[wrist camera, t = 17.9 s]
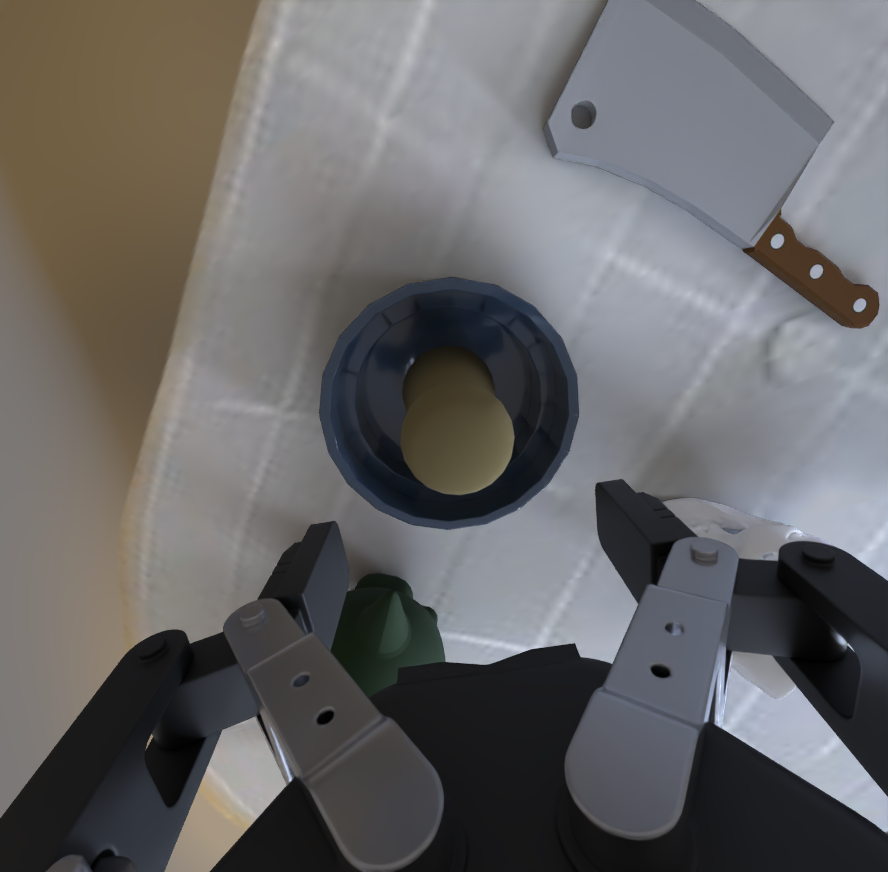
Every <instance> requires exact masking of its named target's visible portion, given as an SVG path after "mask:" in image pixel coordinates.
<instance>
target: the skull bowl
mask: <svg viewBox="0 0 888 872" xmlns="http://www.w3.org/2000/svg"><path fill="white" fill-rule="evenodd" d="M662 503H663V504H664V505H665V506H666V507H667V508H668V510H669V509H670V510H671V511H672V512H673V513H674V514H675V516H676V517H678V518H679V519H680V520H681V521H682V522H683V523H684V524H685V525H686V526H687V527H688V528H690V529H691V530H692V531H693V532H694V533H695V534H696V535H697V536H698V537H705V538H711V539H715V540H718V541H721V542H724V543H726V544H728V545H729V546H731V547H732V548H733V549H734V550H735V551H736V552H737V553H738V556H739V558H742V559H754V560H774V561H778V554H779V549H780V547H781V546H782V545H784V544H786V543H789V542H794V541H812V542H819V543H823V544H828V545H831V544H829V543H828V542H826V541H825V540H823V539H821V538H819V537H816V536H813V535H809V534H805V533H802V532H800V531H799V530H798V529H796V528H794V527H793V526H789V525H785V524H783V523H779V522H773V521H768V520H765V519H762V518H758V517H755V516H751V515H748V514H746V513H743V512H741V511H738V510H736V509H733V508H731V507H728V506H726V505H723V504H720V503H714V502H710V501H706V500H702V499H697V498H681V499H673V500H668V501H664V502H662ZM723 529H735V530H741V532H739V533H736V534H730V533H728V532H726V531H724V530H723ZM831 546H833V545H831ZM834 547H835V546H834ZM874 572H875V571H874ZM731 667H733V668H734V669H735V670H736V671H737V672H738V673H739V674H740V675H741V676H742V677H743V678H744V679H746V680H747V681H749V682H751V683H752V684H754V685H755V686H757V687H758V688H760V689H761V690H763V691H764V692H765V693H767V694H768V695H769V696H771V697H773V698H774V699H776V700H779V699H782V698H783V697H785V696H786V695H788V694H789V693H790V692H792V691H793V690H794V689H795V688H797V686H796V685H795V684H794V682H793V681H792V680H791V679H790V677H789V676H788V675H787V674H786V673H785V671H784V670H783V669H782V668H781V667H780V665H779V664H778V663H777V662H776V660H775V659H774V658H773V656H772V655H763V654H754V653H745V652H737V651H733V658H732V664H731Z"/></svg>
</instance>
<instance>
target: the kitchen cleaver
mask: <svg viewBox="0 0 888 872" xmlns="http://www.w3.org/2000/svg"><path fill="white" fill-rule="evenodd" d="M576 106H583V107H585V108H587V110H588V111H589V112H590V115H591V124H590V127H589V128H587V129H579V128H577V127H576V126H575V125H574V124H573V122H572V120H571V111H572V108H574V107H576ZM833 123H834V121H833V120H832V119H831V118H830V117H829V116H828V115H827V114H826V113H825V112H824V111H823V110H821V109H820V108H819V107H818V106H817V105H816V104H815V103H814V102H813V101H812V100H811V99H810V98H809V97H808V96H807V95H806V94H804V93H803V92H802V91H801V90H800V89H799V88H798V87H797V86H796V85H795V84H794V83H793V82H792V81H791V80H790V79H789V78H787V77H786V76H785V75H784V74H783V73H782V72H781V71H780V70H779V69H778V68H777V67H776V66H774V65H773V64H772V63H771V62H770V61H769V60H768V59H767V58H766V57H765V56H764V55H762V54H761V53H760V52H759V51H758V50H757V49H756V48H755V47H754V46H753V45H752V44H750V43H749V42H748V41H747V40H746V39H745V38H744V37H743V36H742V35H741V34H740V33H738V32H737V31H736V30H735V29H734V28H732V27H731V26H730V25H728V24H727V23H726V22H724V21H723V20H721V19H720V18H719V17H717V16H716V15H715V14H713V13H712V12H711V11H709V10H708V9H706V8H705V7H704V6H702V5H701V4H700V3H698V2H697V1H695V0H608V2H607V4H606V6H605V8H604V10H603V12H602V14H601V16H600V18H599V20H598V22H597V23H596V25H595V27H594V29H593V31H592V33H591V35H590V37H589V39H588V41H587V43H586V45H585V47H584V49H583V51H582V53H581V55H580V57H579V59H578V61H577V63H576V65H575V67H574V69H573V71H572V73H571V75H570V77H569V79H568V81H567V83H566V85H565V87H564V89H563V91H562V93H561V95H560V97H559V99H558V100H557V102H556V104H555V106H554V108H553V110H552V112H551V114H550V116H549V118H548V120H547V122H546V124H545V126H544V128H543V131H544V134H545V137H546V140H547V142H548V145H549V148H550V151H551V154H552V157H553V158H556V159H561V160H566V161H572V162H577V163H582V164H588V165H593V166H596V167H599V168H601V169H603V170H606V171H608V172H611V173H613V174H616V175H618V176H621V177H623V178H626V179H628V180H631V181H633V182H636V183H638V184H641V185H643V186H645V187H646V188H648V189H650V190H652V191H654V192H655V193H657V194H659V195H661V196H662V197H664V198H666V199H668V200H669V201H671V202H673V203H675V204H676V205H678V206H680V207H682V208H683V209H685V210H686V211H688V212H689V213H691V214H692V215H693V216H695V217H696V218H698V219H699V220H701V221H702V222H703V223H705V224H706V225H708V226H709V227H711V228H712V229H713V230H715V231H716V232H718V233H719V234H721V235H722V236H723V237H725V238H726V239H728V240H729V241H731V242H732V243H733V244H735V245H736V246H738V247H740V248H742V250H743V252H745V253H746V254H748V255H749V256H750V257H752V258H753V259H754V260H756V261H757V262H758V263H760V264H761V265H762V266H764V267H765V268H766V269H767V270H769V271H770V272H771V273H773V274H774V275H775V276H777V277H778V278H779V279H781V280H782V281H783V282H785V283H786V284H787V285H789V286H790V287H791V288H793V289H794V290H795V291H796V292H798V293H799V294H800V295H802V296H803V297H804V298H806V299H807V300H808V301H810V302H811V303H812V304H814V305H815V306H816V307H818V308H819V309H820V310H822V311H823V312H824V313H826V314H827V315H828V316H829V317H831V318H832V319H833V320H835V321H836V322H837V323H839V324H840V325H841V326H845V327H849V328H864V327H866V326H869V325H870V323H871V322H872V321H873V320H874V318H875V317H876V316H877V315H878V310H879V296H878V292H876V291H875V290H874V289H873V288H871V287H870V286H869V285H860V284H853V283H851V282H850V281H849V280H848V279H846V278H845V277H844V276H843V275H842V273H841V271H840V269H839V268H838V267H837V266H836V265H835V264H833V263H832V262H831V261H830V260H828V259H827V258H826V257H825V256H823V255H822V254H821V253H820V252H818V251H817V250H814V249H811V248H809V247H806V246H804V245H803V244H802V243H800V242H799V241H798V240H797V238H796V236H795V234H794V232H793V229H792V227H791V226H790V225H789V224H788V223H787V222H785V221H784V220H783V219H781V218H780V216H781V208H782V206H783V205H784V203H785V201H786V199H787V198H788V196H789V194H790V193H791V191H792V189H793V188H794V186H795V184H796V183H797V181H798V179H799V178H800V176H801V174H802V173H803V171H804V169H805V167H806V166H807V164H808V162H809V161H810V159H811V157H812V156H813V154H814V152H815V151H816V149H817V147H818V146H819V144H820V142H821V141H822V139H823V138H824V136H825V135H826V133H827V132H828V131H829V129H830V128H831V126H832V125H833Z"/></svg>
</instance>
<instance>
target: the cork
mask: <svg viewBox="0 0 888 872" xmlns="http://www.w3.org/2000/svg"><path fill="white" fill-rule="evenodd" d="M402 396H403V400H404V404H405V408H406V411H407V414H406V416H405V418H404V421H403V423H402V428H401V440H400V445H401V449H402V453H403V457H404V460H405V462H406V464H407V465H408V467H409V468H410V470H411V471H412V473H413V474H414V476H415V477H416V478H417V479H418V480H419V481H421V482H422V483H423V484H424V485H426V486H427V487H428V488H431V489H433V490H436V491H438V492H441V493H443V494H454V495H463V494H468V493H473V492H477V491H479V490H481V489H483V488H485V487H487V486H489V485H490V484H492V483H493V482H494V481H495V480H496V479H497V478H498V477H499V476H500V475H501V474H502V473H503V472H504V470H505V468H506V466H507V464H508V463H509V461H510V459H511V456H512V450H513V444H514V438H515V437H514V431H513V425H512V420H511V418H510V416H509V415H508V413H507V411H506V409H505V407H504V405H503V404H502V403H501V401H499V400H498V399H497V398H496V397H495V387H494V382H493V376H492V374H491V372H490V370H489V369H488V367H487V365H486V363H485V362H484V361H483V360H481V359H480V358H479V357H478V356H477V355H476V354H475V353H473V352H471V351H469V350H466V349H464V348H462V347H454V346H443V347H438V348H434V349H431V350H429V351H427V352H426V353H424V354H422V355H421V356H419V357H418V358H417V359H416V360H415V361H414V363H413V364H412V365H411V366H410V367H409V369H408V371H407V374H406V376H405V378H404V381H403V392H402Z"/></svg>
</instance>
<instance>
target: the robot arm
mask: <svg viewBox="0 0 888 872" xmlns="http://www.w3.org/2000/svg"><path fill="white" fill-rule="evenodd" d="M595 495H596V515H597V531H598V536H599V540H600V543H601V546H602V548H603V550H604V551H605V553H606V555H607V556H608V558H609V559H610V561H611V562H612V564H613V565H614V567H615V569H616V570H617V572H618V573H619V575H620V576H621V578H622V579H623V581H624V583H625V584H626V586H627V587H628V589H629V590H630V592H631V593H632V595H633V596H634V598H635V600H636V601H637V603H638V606H637V608H636V611H635V613H634V615H633V618H632V620H631V622H630V625H629V627H628V629H627V632H626V634H625V636H624V638H623V641H622V643H621V645H620V648H619V650H618V652H617V655H616V657H615V659H614V662H613V664H611V663H608V662H604V661H600V660H596V659H590V658H582V657H580V655H579V653H578V650H577V648H576V645H575V643H573V644H566V645H559V646H552V647H545V648H538V649H531V650H528V651H525V652H523V653H520V654H517V655H514V656H512V657H509V658H506V659H503V660H501V661H498V662H495V663H492V664H489V665H477V664H464V663H450V662H437V663H430V664H423V665H416V666H408V667H401V668H398V678H397V683H395V684H393V685H390V686H388V687H386V688H384V689H382V690H380V691H379V692H377V693H375V694H374V695H372V696H371V697H369V698H368V697H367V696H366V694H365V693H364V692H363V691H362V690H361V688H360V687H359V686H358V685H357V683H356V682H355V681H354V680H353V679H352V677H351V676H350V675H349V674H348V672H347V671H346V670H345V669H344V668H343V666H342V665H341V664H340V663H339V661H338V660H337V659H336V658H335V656H334V655H333V654H332V653H331V652H330V650H331V647H332V643H333V640H334V636H335V632H336V629H337V625H338V622H339V618H340V615H341V611H342V607H343V604H344V600H345V597H346V593H347V589H348V586H349V566H348V562H347V558H346V554H345V550H344V546H343V542H342V538H341V534H340V530H339V527H338V524H337V523H336V522H335V521H331V522H325V523H318V524H311V525H310V526H309V528H308V530H307V532H306V534H305V536H304V538H303V540H302V542H297V543H294V544H293V545H292V546H291V547H290V548H288V549H287V550H286V551H285V552H284V553H283V554H282V556H281V558H280V560H279V562H278V563H277V566H276V567H275V569H274V571H273V572H272V575H271V576H270V578H269V579H268V581H267V583H266V585H265V587H264V588H263V590H262V592H261V594H260V596H259V597H258V599H257V600H256V601H253V602H250V603H248V604H246V605H244V606H242V607H241V608H239V609H238V610H236V611H235V612H234V613H232V614H231V615H230V616H229V618H228V619H227V620H226V622H225V624H224V626H223V632H221V633H219V634H216V635H213V636H210V637H208V638H205V639H202V640H199V641H196V642H194V643H191V644H190V643H189V640H188V638H187V635H186V633H185V632H184V631H182V630H167V631H163V632H160V633H157V634H154V635H152V636H150V637H148V638H146V639H144V640H143V641H141V642H140V643H138V644H137V645H135V646H134V647H133V648H132V649H130V650H129V651H128V652H127V653H126V654H125V656H124V657H123V658H122V659H121V661H120V662H119V663H118V665H117V666H116V667H115V669H114V670H113V671H112V673H111V674H110V675H109V676H108V678H107V679H106V680H105V682H104V683H103V684H102V686H101V687H100V688H99V690H98V691H97V692H96V694H95V695H94V696H93V698H92V699H91V700H90V702H89V703H88V704H87V705H86V707H85V708H84V709H83V711H82V712H81V713H80V715H79V716H78V717H77V719H76V720H75V721H74V722H73V724H72V725H71V726H70V728H69V729H68V730H67V732H66V733H65V734H64V736H63V737H62V738H61V739H60V741H59V742H58V744H57V745H56V746H55V747H54V749H53V750H52V751H51V753H50V754H49V756H48V757H47V758H46V759H45V761H44V762H43V763H42V764H41V766H40V767H39V768H38V770H37V771H36V772H35V774H34V775H33V776H32V778H31V779H30V780H29V781H28V783H27V784H26V785H25V787H24V788H23V789H22V791H21V792H20V794H19V795H18V796H17V797H16V799H15V800H14V801H13V803H12V804H11V805H10V806H9V808H8V809H7V810H6V812H5V813H4V814H3V816H2V817H1V818H0V872H164V871H165V868H166V866H167V864H168V861H169V859H170V856H171V854H172V851H173V849H174V847H175V844H176V842H177V839H178V837H179V834H180V832H181V830H182V827H183V825H184V822H185V820H186V817H187V815H188V813H189V810H190V807H191V805H192V803H193V800H194V798H195V795H196V793H197V791H198V788H199V786H200V783H201V781H202V778H203V776H204V774H205V771H206V769H207V766H208V764H209V761H210V759H211V757H212V754H213V752H214V749H215V747H216V744H217V742H218V740H219V737H220V735H221V732H222V730H223V729H226V728H228V727H231V726H233V725H235V724H238V723H240V722H243V721H245V720H247V719H250V718H252V717H256V720H257V722H258V724H259V726H260V728H261V731H262V733H263V735H264V737H265V739H266V741H267V743H268V745H269V747H270V750H271V752H272V754H273V756H274V758H275V760H276V762H277V764H278V767H279V769H280V771H281V773H282V775H283V778H284V780H285V782H286V785H287V786H286V787H285V788H284V789H283V790H282V791H281V793H280V794H279V795H278V796H277V797H276V798H275V799H274V800H273V801H272V803H271V804H270V805H269V806H268V807H267V808H266V809H265V810H264V812H263V813H262V814H261V815H260V816H259V817H258V818H257V819H256V820H255V822H254V823H253V824H252V825H251V826H250V827H249V828H248V829H247V831H246V832H245V833H244V834H243V835H242V836H241V837H240V838H239V839H238V841H237V842H236V843H235V844H234V845H233V846H232V847H231V849H230V850H229V851H228V852H227V853H226V854H225V855H224V856H223V857H222V858H221V860H220V861H219V862H218V863H217V864H216V866H214V867H213V869H212V870H211V871H210V872H888V835H887V834H886V833H885V832H883V831H882V830H881V829H880V828H878V827H877V826H876V825H875V824H873V823H872V822H870V821H869V820H867V819H866V818H864V817H863V816H861V815H860V814H858V813H857V812H856V811H854V810H852V809H851V808H849V807H847V806H846V805H844V804H843V803H841V802H839V801H838V800H836V799H835V798H833V797H831V796H830V795H828V794H826V793H825V792H823V791H822V790H820V789H818V788H817V787H815V786H814V785H812V784H810V783H809V782H807V781H806V780H804V779H802V778H801V777H799V776H797V775H796V774H794V773H793V772H791V771H789V770H788V769H786V768H785V767H783V766H781V765H780V764H778V763H776V762H775V761H773V760H772V759H770V758H768V757H767V756H765V755H764V754H762V753H760V752H759V751H757V750H756V749H754V748H752V747H751V746H749V745H747V744H746V743H744V742H743V741H741V740H739V739H738V738H736V737H735V736H733V735H731V734H730V733H728V732H726V731H725V730H723V729H722V722H723V714H724V708H725V701H726V695H727V689H728V683H729V677H730V670H731V664H732V658H733V651H737V652H745V653H754V654H763V655H772V656H773V658H774V659H775V660H776V662H777V663H778V664H779V665H780V667H781V668H782V669H783V670H784V671H785V673H786V674H787V675H788V676H789V677H790V679H791V680H792V681H793V682H794V684H795V685H796V686H797V687H798V688H799V690H800V691H801V692H802V693H803V694H804V696H805V697H806V698H807V699H808V701H809V702H810V703H811V704H812V705H813V707H814V708H815V709H816V710H817V711H818V713H819V714H820V715H821V716H822V718H823V719H824V720H825V721H826V722H827V724H828V725H829V726H830V727H831V728H832V730H833V731H834V732H835V733H836V735H837V736H838V737H839V738H840V739H841V741H842V742H843V743H844V744H845V745H846V747H847V748H848V749H849V750H850V752H851V753H852V754H853V755H854V756H855V758H856V759H857V760H858V761H859V762H860V764H861V765H862V766H863V767H864V769H865V770H866V771H867V772H868V773H869V775H870V776H871V777H872V778H873V779H874V781H875V782H876V783H877V784H878V785H879V787H880V788H881V789H882V790H883V792H884V793H885V794H886V795H887V796H888V581H887V580H886V579H884V578H883V577H882V576H880V575H879V574H877V573H876V572H874V571H873V570H872V569H870V568H869V567H867V566H866V565H865V564H863V563H862V562H860V561H859V560H858V559H856V558H855V557H853V556H852V555H850V554H849V553H847V552H845V551H843V550H841V549H839V548H837V547H834V546H831V545H828V544H823V543H819V542H812V541H794V542H789V543H786V544H784V545H782V546H781V547H780V549H779V554H778V561H774V560H754V559H742V558H739V556H738V553H737V552H736V551H735V550H734V549H733V548H732V547H731V546H729V545H728V544H726V543H724V542H721V541H718V540H715V539H711V538H705V537H698V536H697V535H696V534H695V533H694V532H693V531H692V530H691V529H690V528H688V527H687V526H686V525H685V524H684V523H683V522H682V521H681V520H680V519H679V518H678V517H676V516H675V514H674V513H673V512H672V511H671V510H670V509H669V510H668V508H667V507H666V506H665V505H664V504H663V503H662V502H661V501H660V500H659V499H658V498H655V497H653V496H651V495H649V494H646V493H644V492H640V493H636V492H635V491H634V490H633V489H632V488H631V487H630V486H629V485H628V484H627V483H626V482H625V481H624V480H623V479H619V480H612V481H605V482H598V483H597V484H596V487H595ZM848 643H849V644H850V646H851V647H852V648H853V650H854V651H855V652H854V651H853V650H852V649H851V648H850V647H849V646H847V644H848ZM151 734H152V735H153V738H152V740H151V742H150V744H149V745H148V747H147V749H146V746H147V742H148V740H149V738H150V736H151ZM145 750H146V751H145Z"/></svg>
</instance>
